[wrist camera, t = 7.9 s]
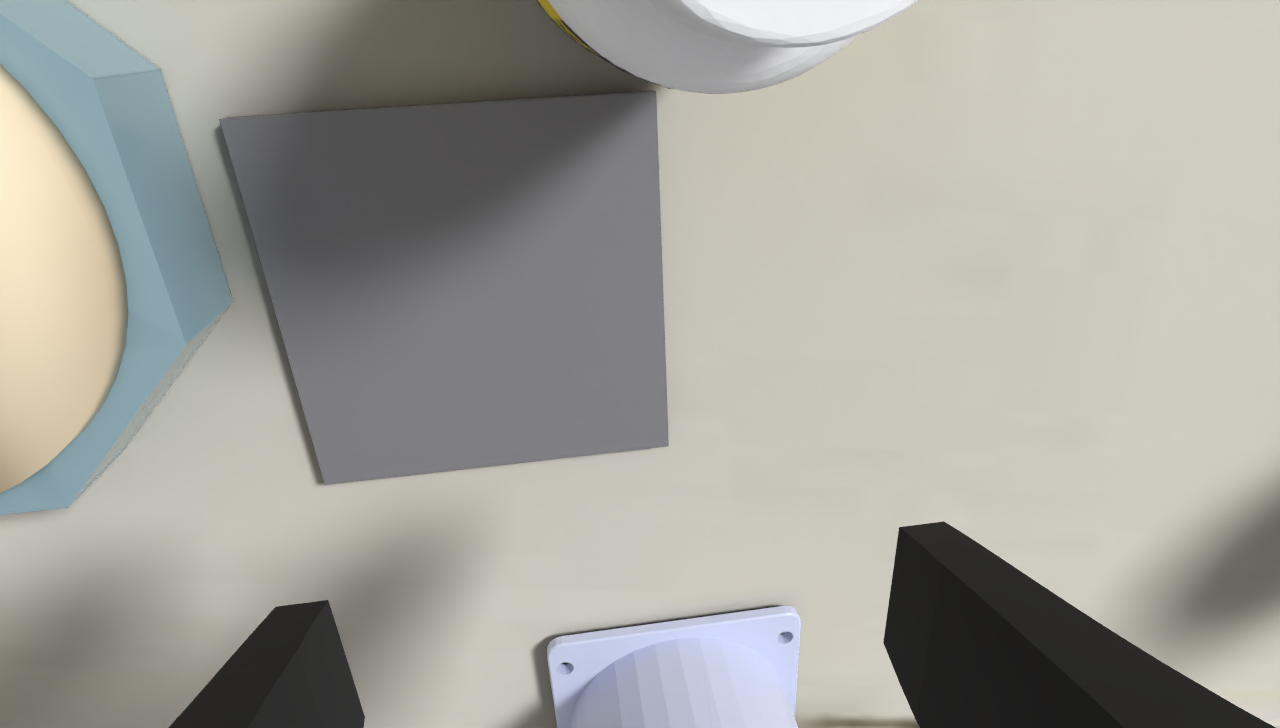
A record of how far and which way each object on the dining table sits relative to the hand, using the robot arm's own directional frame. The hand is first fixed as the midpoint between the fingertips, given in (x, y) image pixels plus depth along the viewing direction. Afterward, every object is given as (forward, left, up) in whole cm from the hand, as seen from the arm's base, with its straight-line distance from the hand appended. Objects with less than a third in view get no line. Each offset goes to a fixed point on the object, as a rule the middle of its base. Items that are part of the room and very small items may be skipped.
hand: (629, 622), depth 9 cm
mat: (+1, +2, -10) cm, 10 cm away
